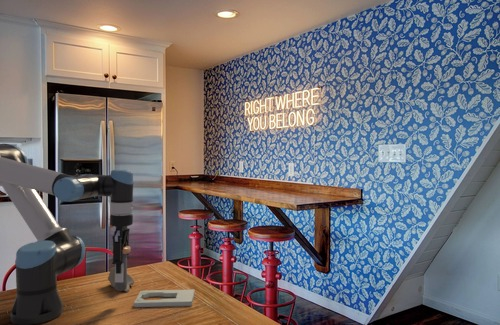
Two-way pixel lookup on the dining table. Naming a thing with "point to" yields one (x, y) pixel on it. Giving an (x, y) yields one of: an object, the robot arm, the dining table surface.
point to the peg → (123, 285)
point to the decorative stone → (112, 279)
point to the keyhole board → (181, 299)
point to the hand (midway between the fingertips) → (120, 279)
